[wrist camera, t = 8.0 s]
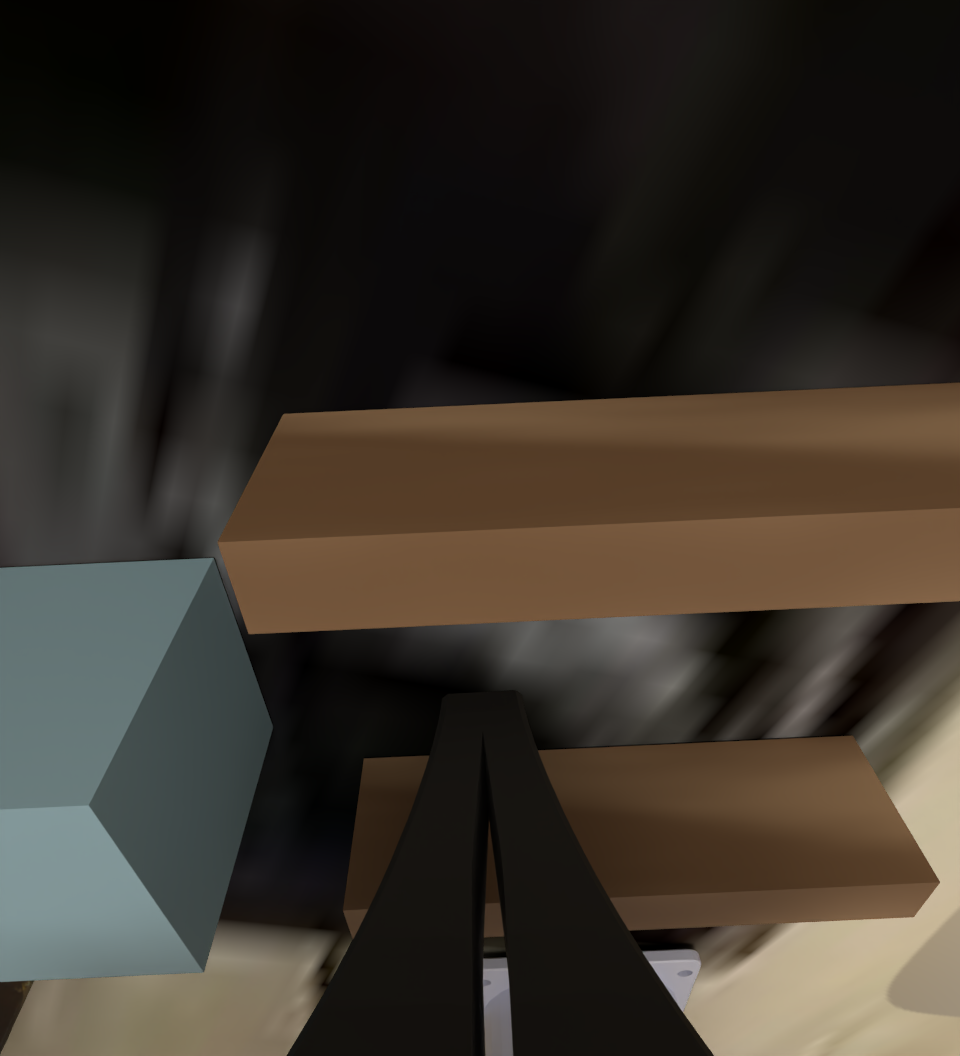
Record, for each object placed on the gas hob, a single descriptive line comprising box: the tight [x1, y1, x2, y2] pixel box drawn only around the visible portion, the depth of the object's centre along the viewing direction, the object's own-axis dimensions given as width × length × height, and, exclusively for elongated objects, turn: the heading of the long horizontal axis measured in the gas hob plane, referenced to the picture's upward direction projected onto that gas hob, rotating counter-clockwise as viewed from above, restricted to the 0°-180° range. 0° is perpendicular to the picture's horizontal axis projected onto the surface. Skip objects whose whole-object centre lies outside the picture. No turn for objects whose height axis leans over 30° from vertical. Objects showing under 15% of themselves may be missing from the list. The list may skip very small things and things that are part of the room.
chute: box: [218, 383, 960, 939], centre depth 12 cm, size 11×12×4 cm
